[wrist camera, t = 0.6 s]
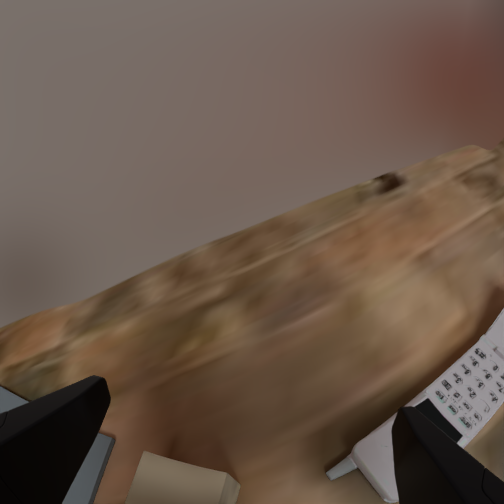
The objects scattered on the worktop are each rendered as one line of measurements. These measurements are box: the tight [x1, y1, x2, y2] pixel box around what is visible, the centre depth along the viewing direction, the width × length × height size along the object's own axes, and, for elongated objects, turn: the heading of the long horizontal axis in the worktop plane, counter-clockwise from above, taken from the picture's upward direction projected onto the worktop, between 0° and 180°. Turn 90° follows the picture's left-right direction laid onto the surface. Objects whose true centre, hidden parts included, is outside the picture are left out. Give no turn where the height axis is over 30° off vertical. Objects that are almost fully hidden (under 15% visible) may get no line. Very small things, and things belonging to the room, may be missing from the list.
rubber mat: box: [0, 387, 115, 504], centre depth 17 cm, size 18×18×1 cm
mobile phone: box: [326, 309, 504, 503], centre depth 18 cm, size 6×6×25 cm
